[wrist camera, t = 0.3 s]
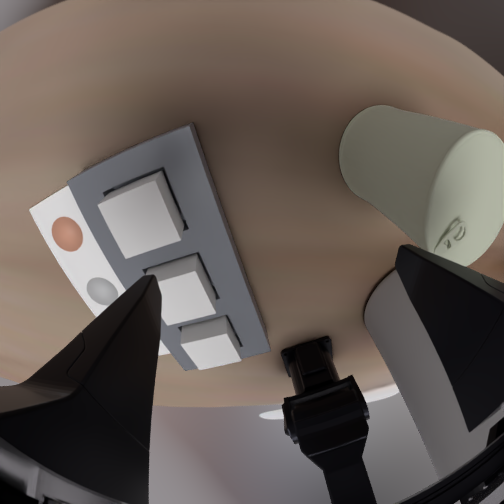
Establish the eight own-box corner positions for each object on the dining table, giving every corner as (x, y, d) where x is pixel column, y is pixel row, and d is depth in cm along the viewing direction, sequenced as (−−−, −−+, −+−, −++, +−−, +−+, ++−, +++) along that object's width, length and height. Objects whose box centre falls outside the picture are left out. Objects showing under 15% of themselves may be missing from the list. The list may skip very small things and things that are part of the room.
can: (316, 153, 21) (405, 211, 11) (386, 84, 18) (498, 99, 8) (375, 220, 25) (451, 298, 15) (433, 159, 22) (524, 209, 12)
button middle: (215, 294, 24) (216, 313, 22) (170, 306, 24) (167, 325, 22) (196, 253, 21) (195, 270, 19) (147, 268, 21) (142, 286, 19)
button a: (184, 224, 20) (181, 240, 18) (133, 242, 20) (125, 259, 18) (162, 170, 18) (155, 180, 15) (109, 192, 18) (97, 204, 16)
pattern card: (173, 350, 31) (172, 353, 30) (132, 358, 31) (132, 360, 31) (72, 183, 19) (70, 184, 19) (30, 208, 19) (28, 210, 19)
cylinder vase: (343, 324, 32) (421, 509, 11) (403, 242, 27) (545, 430, 5) (400, 335, 36) (471, 470, 15) (451, 271, 31) (552, 404, 9)
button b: (239, 342, 27) (241, 360, 25) (199, 351, 27) (199, 370, 25) (225, 314, 25) (226, 333, 23) (181, 325, 25) (180, 344, 23)
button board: (266, 330, 31) (270, 351, 28) (185, 350, 31) (185, 370, 28) (192, 122, 18) (189, 125, 16) (82, 170, 19) (66, 181, 16)
